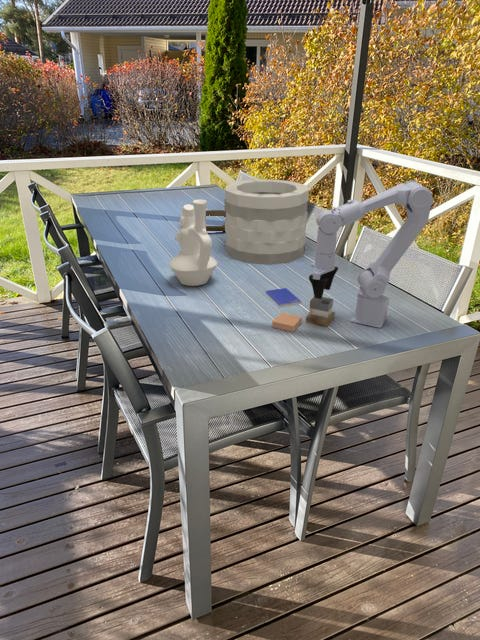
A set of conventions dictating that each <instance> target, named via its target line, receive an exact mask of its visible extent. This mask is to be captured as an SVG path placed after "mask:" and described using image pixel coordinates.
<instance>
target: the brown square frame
mask: <svg viewBox="0 0 480 640" xmlns="http://www.w3.org/2000/svg"><path fill="white" fill-rule="evenodd" d="M209 215H210V216H224V217H226V211H225V209H223V210H220V209H212V210H211V209H210V210H209V209H208V210H207V209H206V216H209ZM206 231H225V225H222V226H206Z"/></svg>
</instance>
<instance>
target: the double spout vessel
mask: <svg viewBox="0 0 480 640" xmlns="http://www.w3.org/2000/svg"><path fill="white" fill-rule="evenodd" d="M207 202H208V201H207V200H206V199H194V200H192V204H188V203H187V204H185V205H183V207H182V210H181V212H180V215H179V221H178V225H179V227H180V229H179V230H178V232H177V233H176V235H175V236H174V241H176V242H178V245H179V246H180V249H181V250H180V251H178V254H177V255H175V256H174V257H173V258H172V259H171V260H170V261H168V267H169V268H170V270H171V271H172V272H173V274H174V275H175V276H176V278H177V279H178V281H179V282H180V284H181V285H184V286H188V287H189V286H190V287H197V286H198V287H199V286H201V285H202V286H203V285H205V284H207V282H208V281H209V279H210V277H211V276H212V273H213V272H214V271H215V270H216V268H217V266H218V261H217V260H216V259H215V258H214V257H213V256H211V254H212V248H213V247H212V246H213V245H212V243H213V242H212V238H211V236H210V235H209V233H207V231H206V211H207V204H208V203H207Z"/></svg>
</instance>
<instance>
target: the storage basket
mask: <svg viewBox="0 0 480 640" xmlns="http://www.w3.org/2000/svg"><path fill="white" fill-rule="evenodd" d="M224 187H225V199H224V200H223V201H224V203H223V204H224V206H223V207H224V209H223V210H224V211H226V220H225V232H224V233H225V241H224V252H225V251H226V252H227V253H228V254H227V253H226V252H225V253H226V254H227V255H228V256H229V258H231V259H232V260H236V261H239V262H243V263H245V264H246V263H247V264H255V265H268V266H271V265H279V264H288V263H292V262H294V261H296V260H299V259H301V258H303V256H304V254H303V253H305V250H304V249H305V248H306V244H307V232H306V230H307V229H306V228H307V223H308V202H309V195H310V193H309V192H310V190H309V188H308V187H307V186H306V184H303V183H299V182H295V181H291V180H282V179H246V180H239V181H234V182H232V183H230V184H227V185H225V186H224Z"/></svg>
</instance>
